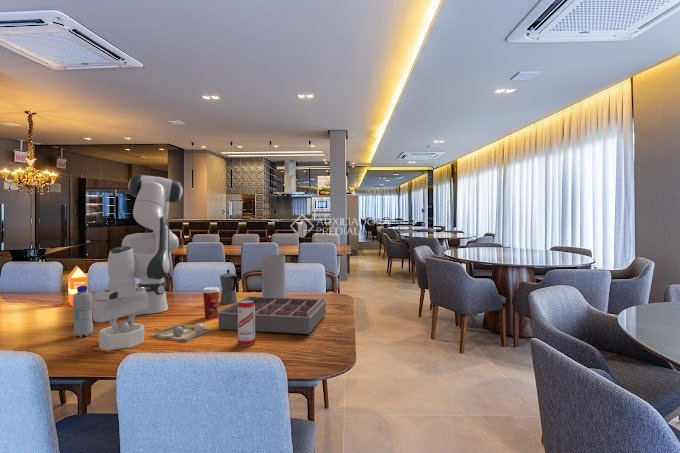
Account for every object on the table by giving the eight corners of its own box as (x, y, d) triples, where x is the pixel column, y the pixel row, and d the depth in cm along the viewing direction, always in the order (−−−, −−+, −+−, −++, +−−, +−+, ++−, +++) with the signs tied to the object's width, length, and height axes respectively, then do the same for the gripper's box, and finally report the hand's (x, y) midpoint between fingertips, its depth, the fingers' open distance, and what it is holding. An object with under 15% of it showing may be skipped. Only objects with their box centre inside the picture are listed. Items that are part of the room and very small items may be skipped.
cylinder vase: (274, 304, 201) (274, 258, 200) (257, 301, 207) (257, 256, 207) (289, 300, 211) (289, 255, 210) (273, 297, 218) (273, 254, 217)
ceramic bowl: (91, 347, 136) (90, 332, 136) (126, 335, 149) (125, 322, 149) (118, 352, 131) (118, 337, 130) (152, 340, 144) (151, 325, 143)
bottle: (78, 339, 144) (77, 287, 144) (69, 336, 148) (68, 286, 147) (96, 334, 150) (95, 284, 150) (88, 331, 154) (87, 283, 153)
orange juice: (85, 300, 210) (84, 265, 209) (88, 303, 203) (87, 266, 203) (68, 302, 205) (67, 266, 204) (70, 305, 198) (69, 268, 198)
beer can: (239, 341, 142) (239, 299, 142) (256, 340, 143) (256, 299, 142) (236, 347, 136) (236, 303, 136) (254, 346, 137) (253, 303, 136)
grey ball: (170, 337, 145) (170, 327, 145) (178, 334, 149) (178, 324, 149) (178, 338, 144) (178, 328, 144) (186, 335, 148) (186, 325, 147)
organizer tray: (248, 312, 185) (248, 292, 185) (327, 316, 178) (327, 295, 178) (215, 332, 154) (215, 308, 153) (310, 338, 147) (310, 313, 146)
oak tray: (150, 337, 146) (150, 333, 146) (178, 327, 159) (178, 324, 159) (186, 343, 140) (186, 339, 140) (212, 332, 153) (212, 328, 153)
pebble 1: (114, 333, 138) (114, 322, 138) (124, 330, 142) (123, 319, 142) (122, 334, 137) (121, 323, 137) (131, 331, 141) (131, 320, 140)
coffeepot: (214, 301, 207) (214, 269, 206) (230, 299, 213) (230, 267, 213) (228, 306, 196) (227, 272, 195) (244, 303, 202) (244, 270, 202)
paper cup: (214, 321, 170) (214, 290, 169) (199, 320, 171) (199, 289, 171) (223, 316, 177) (223, 286, 177) (208, 315, 179) (208, 286, 178)
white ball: (191, 334, 149) (191, 324, 149) (199, 331, 153) (199, 321, 153) (199, 335, 148) (199, 325, 147) (207, 332, 151) (206, 322, 151)
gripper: (140, 285, 150) (140, 319, 150) (89, 295, 131) (90, 334, 131) (151, 286, 148) (152, 321, 148) (102, 297, 129) (102, 337, 129)
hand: (122, 327), depth 139 cm, fingers closed on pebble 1, 4 cm apart
